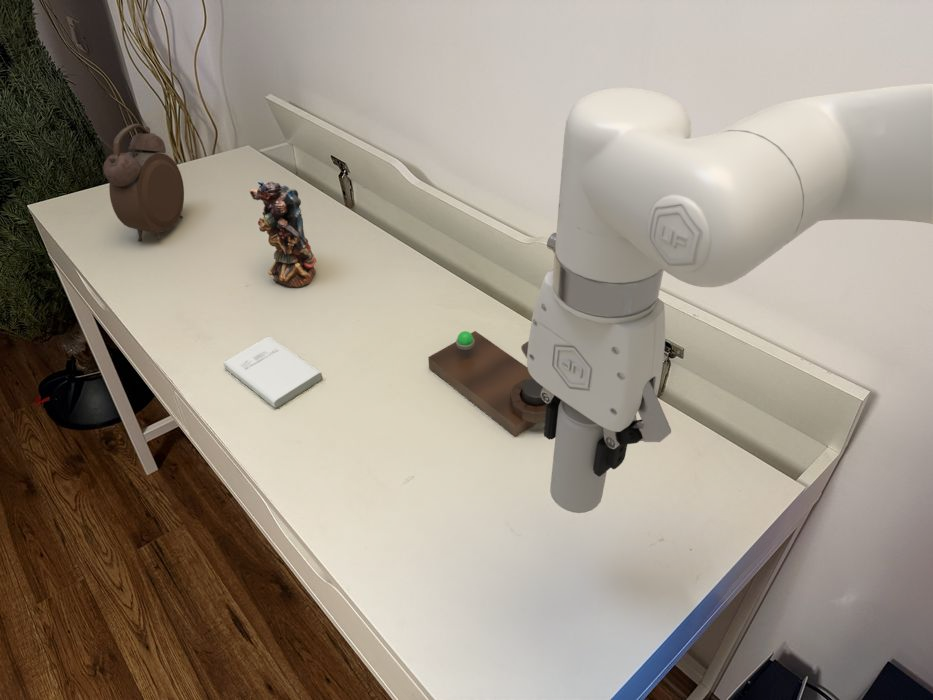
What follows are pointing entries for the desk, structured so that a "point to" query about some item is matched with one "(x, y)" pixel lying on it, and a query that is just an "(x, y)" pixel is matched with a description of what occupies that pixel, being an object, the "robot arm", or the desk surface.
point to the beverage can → (576, 462)
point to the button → (532, 393)
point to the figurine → (285, 234)
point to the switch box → (489, 382)
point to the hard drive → (273, 371)
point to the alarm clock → (144, 183)
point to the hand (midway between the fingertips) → (582, 446)
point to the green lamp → (465, 340)
